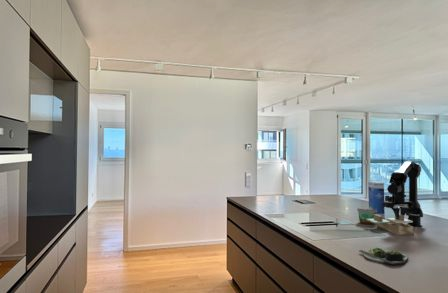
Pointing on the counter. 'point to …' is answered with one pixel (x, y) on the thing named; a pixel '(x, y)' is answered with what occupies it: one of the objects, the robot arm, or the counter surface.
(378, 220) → the cover
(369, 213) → the food container
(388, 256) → the salad plate
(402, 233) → the box
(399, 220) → the lid
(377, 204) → the string lights box
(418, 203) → the robot arm
